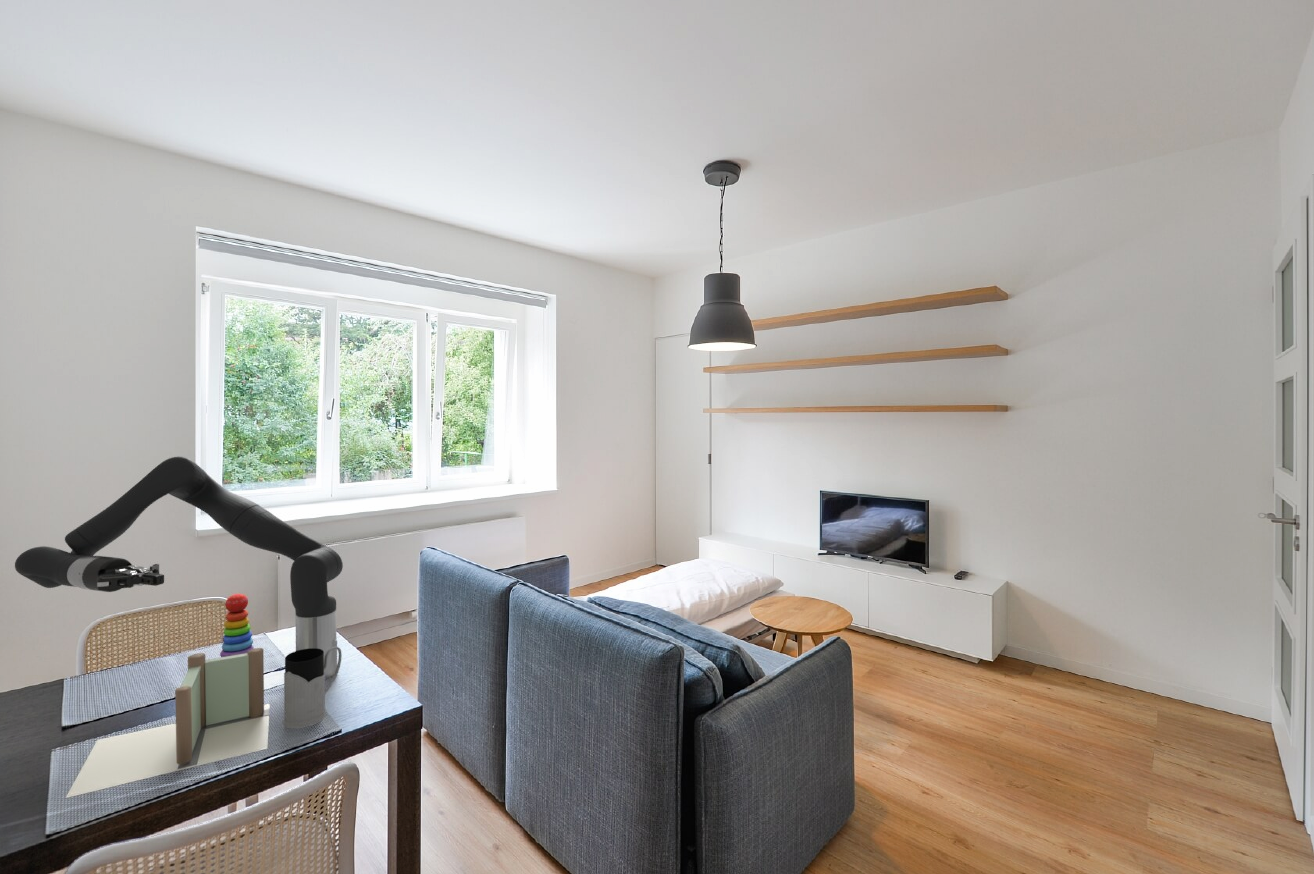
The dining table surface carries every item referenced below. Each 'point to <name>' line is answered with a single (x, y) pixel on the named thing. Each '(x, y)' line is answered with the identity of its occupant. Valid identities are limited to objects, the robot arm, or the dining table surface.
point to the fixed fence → (230, 686)
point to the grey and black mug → (306, 686)
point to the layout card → (166, 752)
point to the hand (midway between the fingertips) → (160, 579)
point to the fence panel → (187, 715)
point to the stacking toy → (236, 627)
